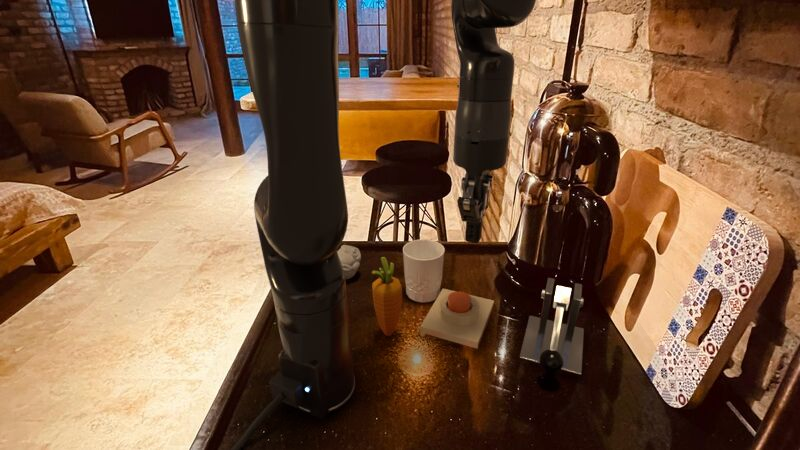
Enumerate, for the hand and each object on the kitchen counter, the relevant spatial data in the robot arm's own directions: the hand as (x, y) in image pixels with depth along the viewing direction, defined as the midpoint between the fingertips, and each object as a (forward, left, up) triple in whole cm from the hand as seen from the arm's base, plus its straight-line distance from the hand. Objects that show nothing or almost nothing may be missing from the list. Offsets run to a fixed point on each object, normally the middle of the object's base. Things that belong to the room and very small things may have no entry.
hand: (472, 240), depth 64 cm
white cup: (+6, +11, -18) cm, 21 cm away
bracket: (0, -14, -17) cm, 22 cm away
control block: (0, +2, -17) cm, 17 cm away
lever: (-3, -14, -11) cm, 19 cm away
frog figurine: (+5, +28, -18) cm, 33 cm away
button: (0, +2, -14) cm, 14 cm away
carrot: (-8, +12, -18) cm, 22 cm away
